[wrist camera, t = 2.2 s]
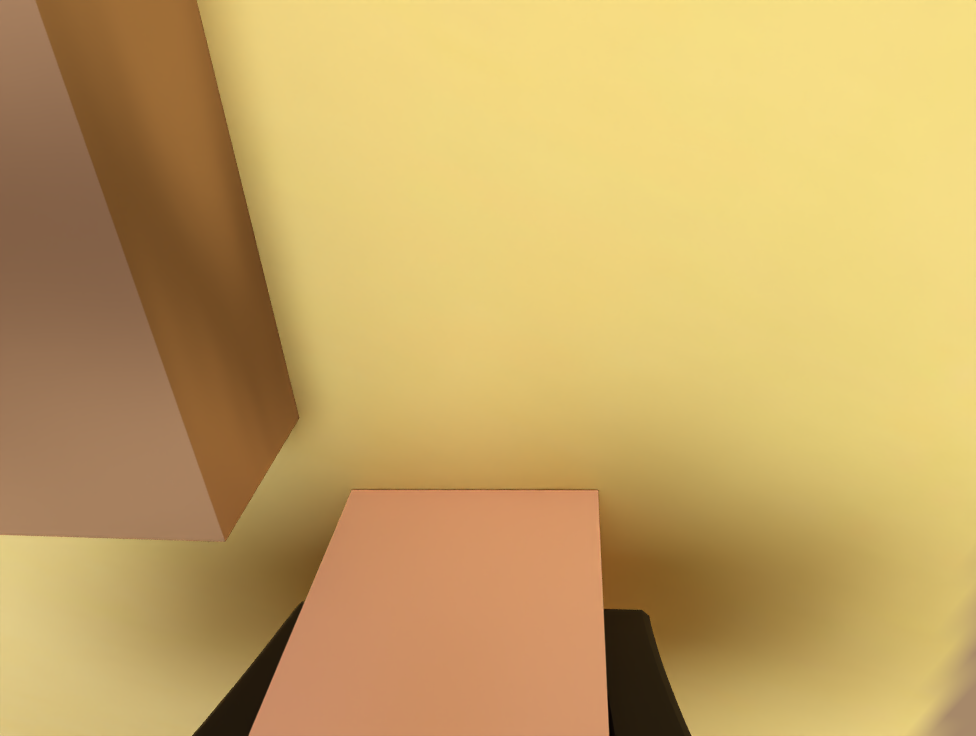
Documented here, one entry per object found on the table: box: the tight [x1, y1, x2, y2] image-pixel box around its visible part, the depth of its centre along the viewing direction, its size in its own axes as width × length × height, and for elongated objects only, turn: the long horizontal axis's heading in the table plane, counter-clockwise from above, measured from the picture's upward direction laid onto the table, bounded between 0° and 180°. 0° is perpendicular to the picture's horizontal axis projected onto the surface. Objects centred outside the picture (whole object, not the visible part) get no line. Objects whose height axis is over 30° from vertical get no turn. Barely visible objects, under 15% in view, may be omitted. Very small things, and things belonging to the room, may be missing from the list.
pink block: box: [249, 490, 609, 736], centre depth 10 cm, size 4×4×5 cm
